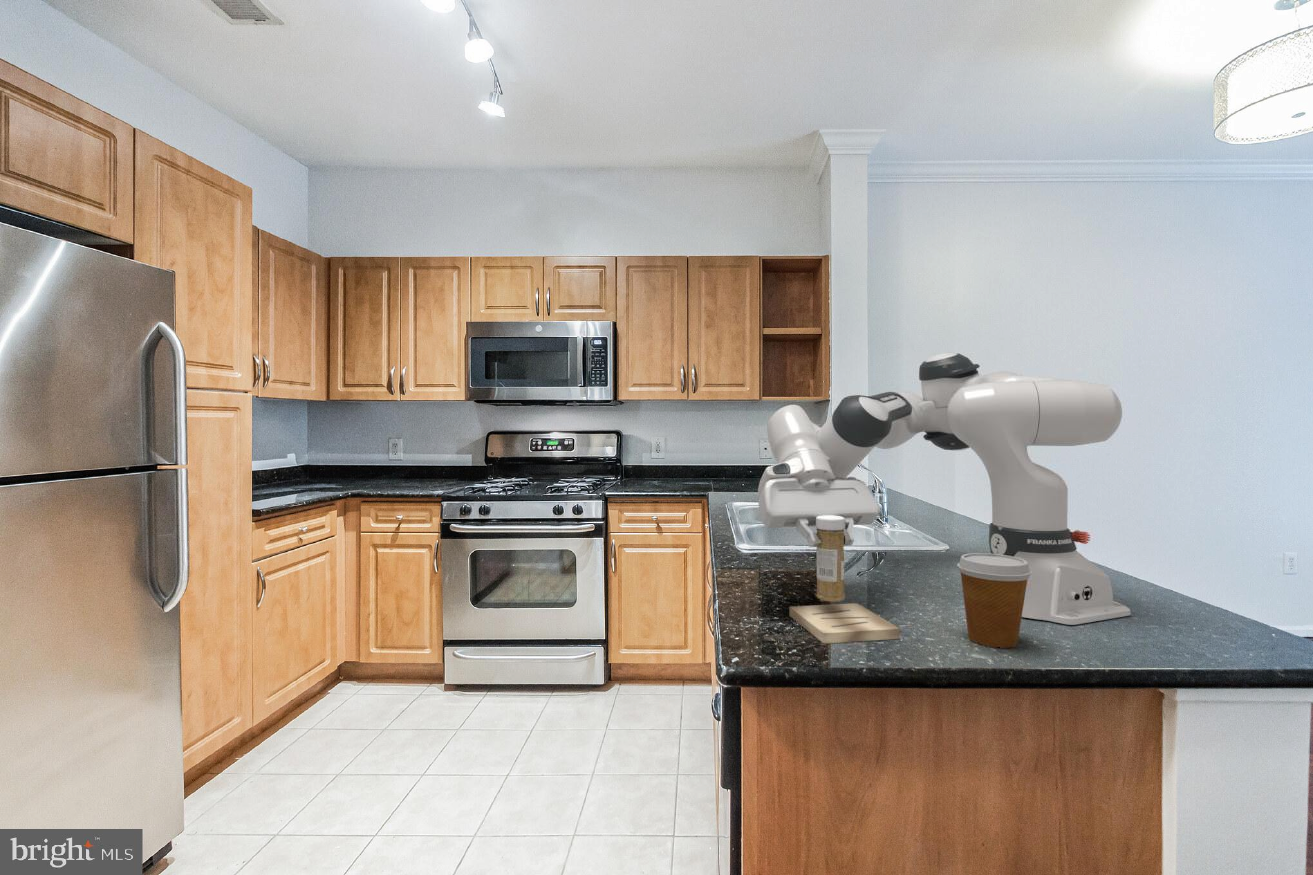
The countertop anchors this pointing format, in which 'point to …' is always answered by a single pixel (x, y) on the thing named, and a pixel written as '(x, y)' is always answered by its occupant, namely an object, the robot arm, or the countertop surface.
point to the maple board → (843, 623)
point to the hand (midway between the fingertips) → (832, 544)
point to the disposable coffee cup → (993, 597)
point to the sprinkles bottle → (830, 558)
